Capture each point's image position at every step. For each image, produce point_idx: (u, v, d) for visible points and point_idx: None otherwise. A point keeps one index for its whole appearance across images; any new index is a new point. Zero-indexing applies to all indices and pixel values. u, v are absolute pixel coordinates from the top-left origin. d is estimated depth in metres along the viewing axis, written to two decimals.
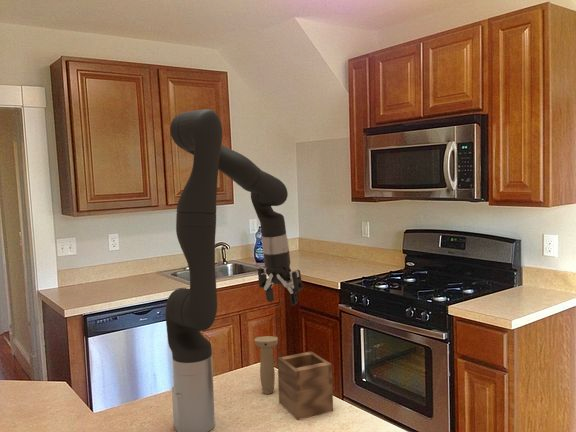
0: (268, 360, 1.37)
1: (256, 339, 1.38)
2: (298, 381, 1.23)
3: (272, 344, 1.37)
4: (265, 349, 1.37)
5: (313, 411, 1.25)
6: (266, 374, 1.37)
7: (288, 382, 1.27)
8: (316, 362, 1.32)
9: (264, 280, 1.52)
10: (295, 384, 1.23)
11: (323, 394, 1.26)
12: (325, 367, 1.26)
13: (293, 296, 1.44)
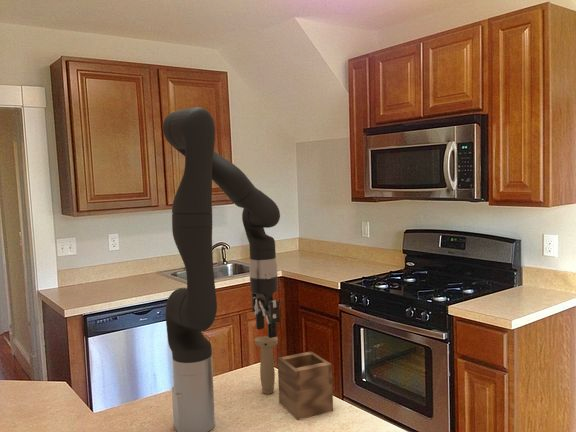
0: (268, 360, 1.37)
1: (256, 339, 1.38)
2: (298, 381, 1.23)
3: (272, 344, 1.37)
4: (265, 349, 1.37)
5: (313, 411, 1.25)
6: (266, 374, 1.37)
7: (288, 382, 1.27)
8: (316, 362, 1.32)
9: None
10: (295, 384, 1.23)
11: (323, 394, 1.26)
12: (325, 367, 1.26)
13: (270, 327, 1.34)
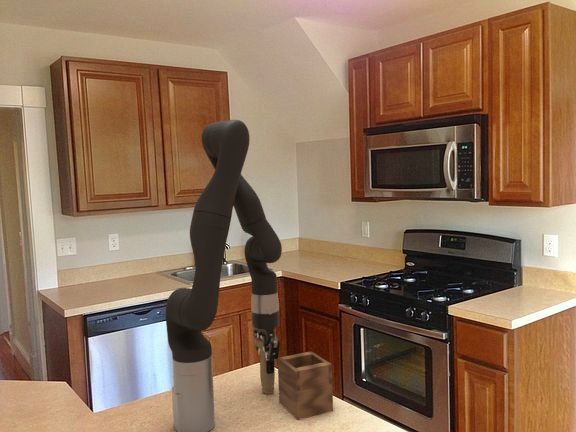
0: None
1: (256, 339, 1.38)
2: (298, 381, 1.23)
3: None
4: None
5: (313, 411, 1.25)
6: (266, 374, 1.37)
7: (288, 382, 1.27)
8: (316, 362, 1.32)
9: None
10: (295, 384, 1.23)
11: (323, 394, 1.26)
12: (325, 367, 1.26)
13: (268, 364, 1.36)
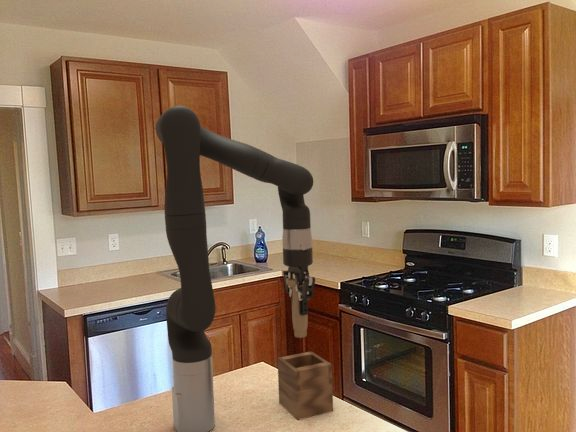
0: None
1: (288, 279, 1.28)
2: (298, 381, 1.23)
3: None
4: None
5: (313, 411, 1.25)
6: (299, 315, 1.28)
7: (288, 382, 1.27)
8: (316, 362, 1.32)
9: None
10: (295, 384, 1.23)
11: (323, 394, 1.26)
12: (325, 367, 1.26)
13: (302, 304, 1.26)
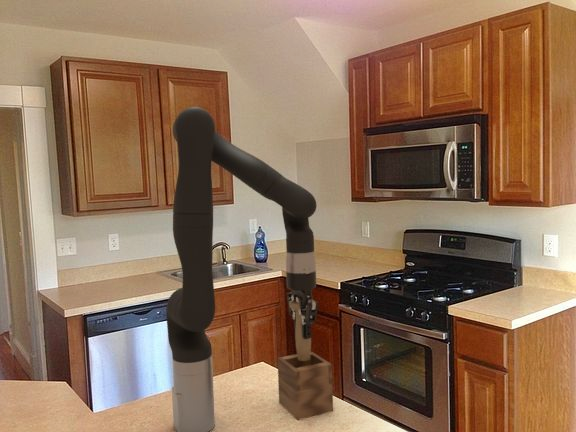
0: None
1: (291, 302, 1.28)
2: (298, 381, 1.23)
3: None
4: None
5: (313, 411, 1.25)
6: (302, 339, 1.27)
7: (288, 382, 1.27)
8: (316, 362, 1.32)
9: None
10: (295, 384, 1.23)
11: (323, 394, 1.26)
12: (325, 367, 1.26)
13: (305, 328, 1.26)
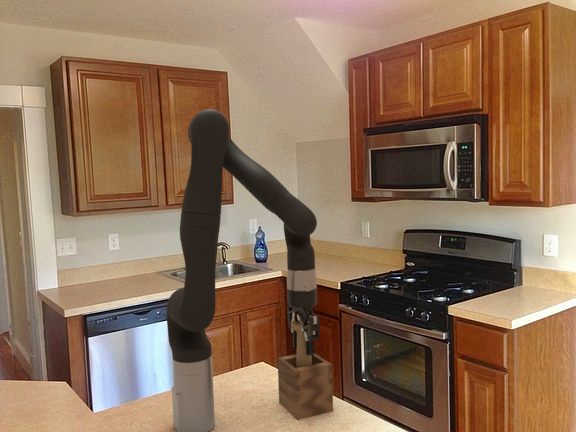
0: None
1: (292, 322, 1.28)
2: (298, 381, 1.23)
3: None
4: (302, 333, 1.27)
5: (313, 411, 1.25)
6: (303, 360, 1.27)
7: (288, 382, 1.27)
8: (316, 362, 1.32)
9: None
10: (295, 384, 1.23)
11: (323, 394, 1.26)
12: (325, 367, 1.26)
13: (308, 344, 1.25)
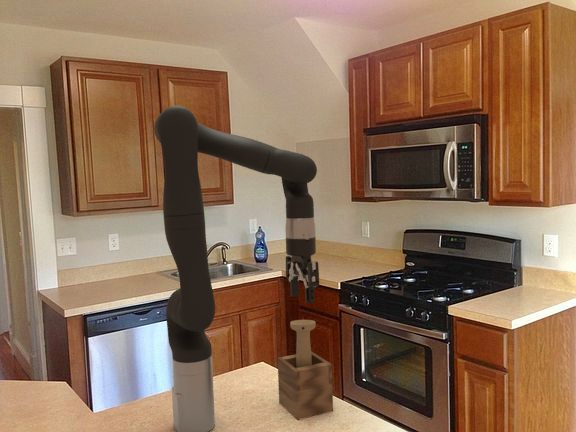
0: (305, 345, 1.27)
1: (292, 322, 1.28)
2: (298, 381, 1.23)
3: (310, 328, 1.26)
4: (302, 333, 1.27)
5: (313, 411, 1.25)
6: (303, 360, 1.27)
7: (288, 382, 1.27)
8: (316, 362, 1.32)
9: None
10: (295, 384, 1.23)
11: (323, 394, 1.26)
12: (325, 367, 1.26)
13: (308, 292, 1.23)
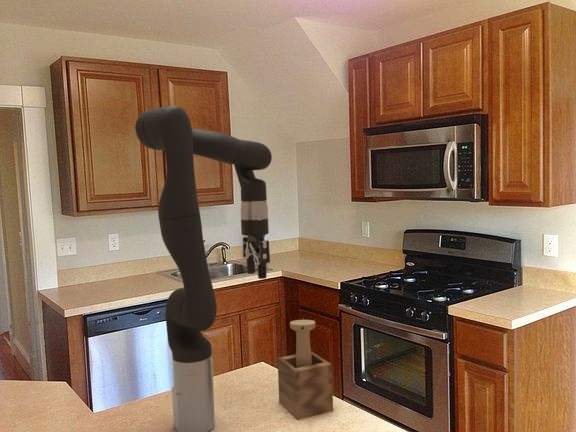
0: (305, 345, 1.27)
1: (292, 322, 1.28)
2: (298, 381, 1.23)
3: (309, 328, 1.27)
4: (302, 333, 1.27)
5: (313, 411, 1.25)
6: (303, 360, 1.27)
7: (288, 382, 1.27)
8: (316, 362, 1.32)
9: None
10: (295, 384, 1.23)
11: (323, 394, 1.26)
12: (325, 367, 1.26)
13: (260, 268, 1.35)
